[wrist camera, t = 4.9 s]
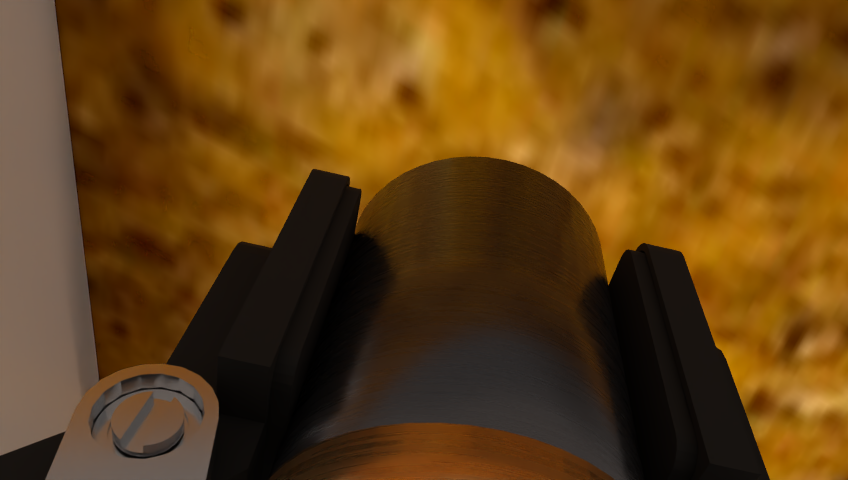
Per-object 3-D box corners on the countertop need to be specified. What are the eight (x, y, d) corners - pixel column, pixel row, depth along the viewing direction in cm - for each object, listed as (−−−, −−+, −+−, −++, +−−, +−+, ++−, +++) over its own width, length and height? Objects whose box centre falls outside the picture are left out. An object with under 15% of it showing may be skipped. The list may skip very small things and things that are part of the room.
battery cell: (646, 189, 10) (874, 895, 4) (559, 383, 12) (608, 1021, 6) (367, 125, 10) (113, 738, 4) (333, 334, 12) (143, 927, 6)
